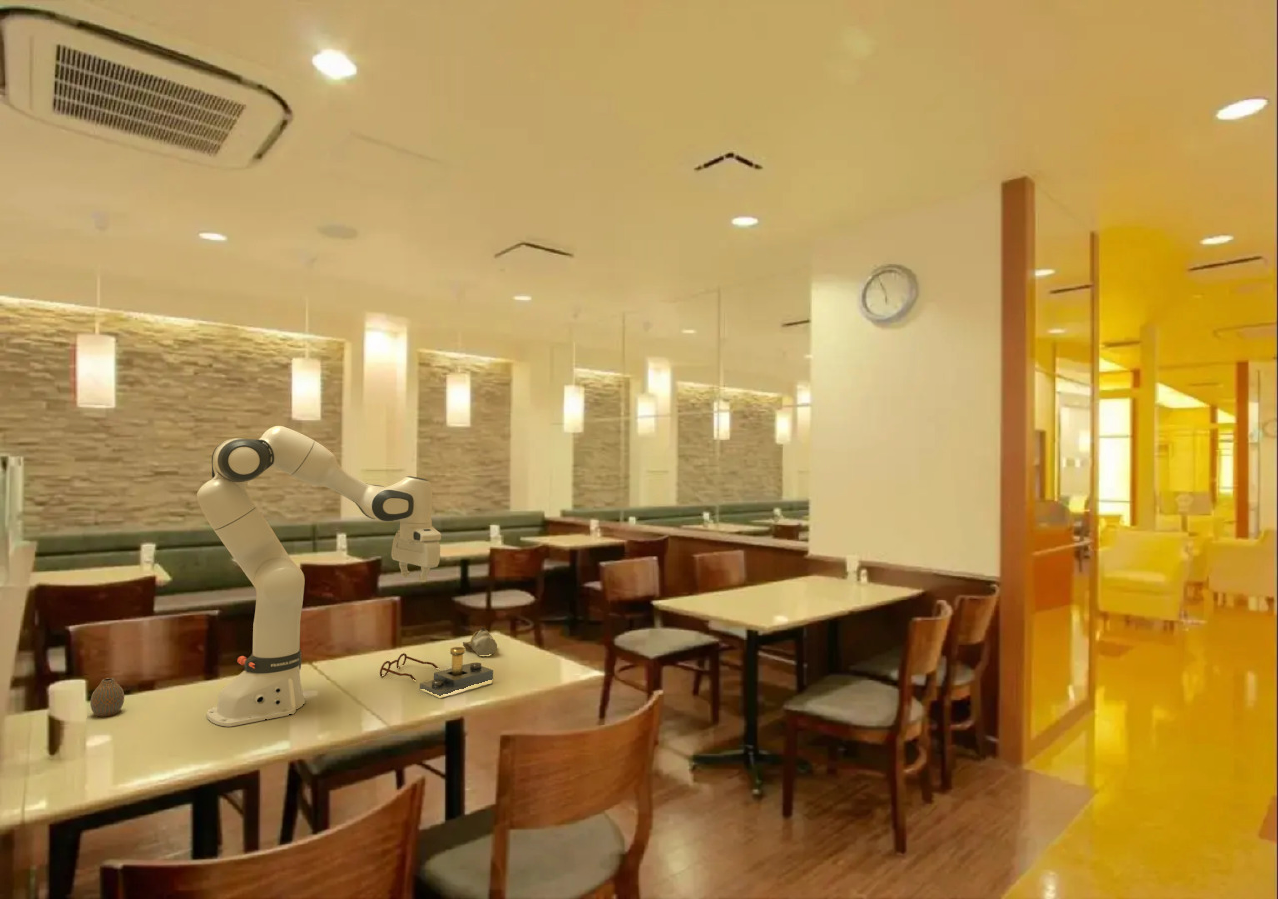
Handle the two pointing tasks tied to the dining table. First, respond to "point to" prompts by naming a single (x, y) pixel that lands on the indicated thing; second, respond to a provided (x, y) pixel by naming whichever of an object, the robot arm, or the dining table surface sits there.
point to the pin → (457, 660)
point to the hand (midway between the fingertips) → (413, 579)
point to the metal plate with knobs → (457, 679)
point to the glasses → (402, 664)
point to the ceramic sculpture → (481, 643)
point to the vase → (107, 698)
